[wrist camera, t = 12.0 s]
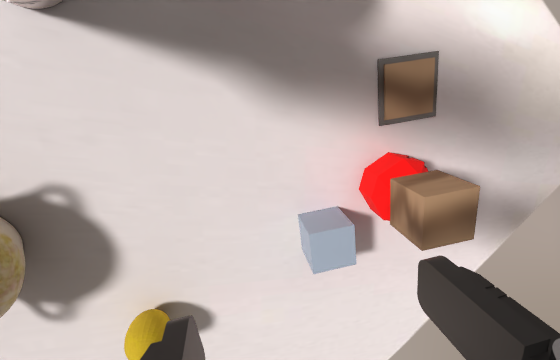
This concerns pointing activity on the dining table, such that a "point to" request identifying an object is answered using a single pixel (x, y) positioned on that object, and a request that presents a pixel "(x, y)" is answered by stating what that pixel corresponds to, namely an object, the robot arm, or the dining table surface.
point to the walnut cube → (433, 208)
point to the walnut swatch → (407, 87)
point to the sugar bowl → (10, 265)
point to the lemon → (144, 332)
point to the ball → (386, 180)
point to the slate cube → (327, 239)
